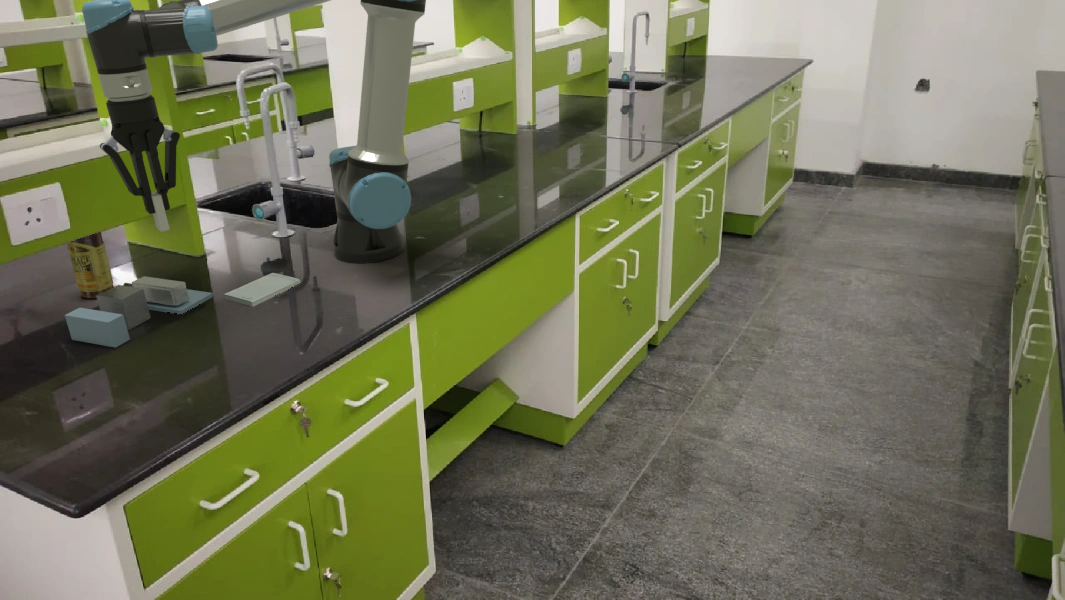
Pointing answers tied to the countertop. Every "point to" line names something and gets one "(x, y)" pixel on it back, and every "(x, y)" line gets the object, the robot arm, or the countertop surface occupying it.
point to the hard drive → (261, 289)
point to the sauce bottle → (90, 265)
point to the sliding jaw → (162, 290)
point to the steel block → (125, 304)
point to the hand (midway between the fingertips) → (163, 228)
